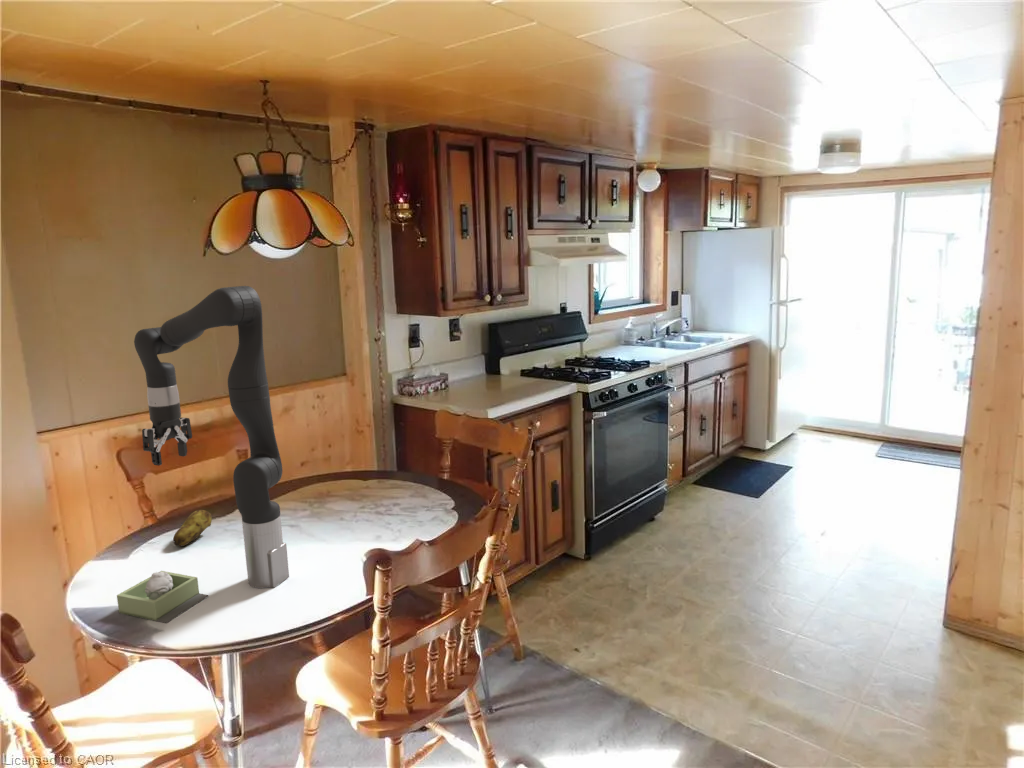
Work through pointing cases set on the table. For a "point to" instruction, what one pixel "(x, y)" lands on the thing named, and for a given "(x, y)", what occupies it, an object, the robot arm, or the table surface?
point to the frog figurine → (158, 585)
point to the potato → (192, 527)
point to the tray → (161, 599)
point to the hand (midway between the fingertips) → (170, 460)
